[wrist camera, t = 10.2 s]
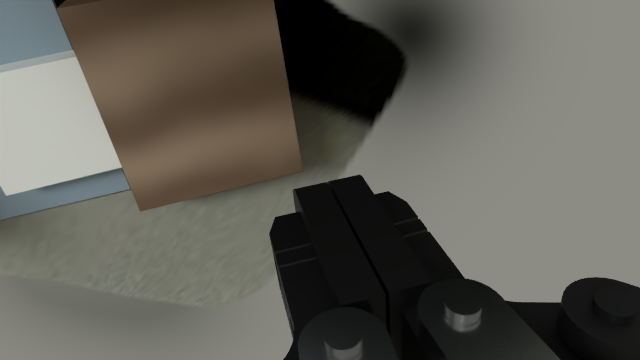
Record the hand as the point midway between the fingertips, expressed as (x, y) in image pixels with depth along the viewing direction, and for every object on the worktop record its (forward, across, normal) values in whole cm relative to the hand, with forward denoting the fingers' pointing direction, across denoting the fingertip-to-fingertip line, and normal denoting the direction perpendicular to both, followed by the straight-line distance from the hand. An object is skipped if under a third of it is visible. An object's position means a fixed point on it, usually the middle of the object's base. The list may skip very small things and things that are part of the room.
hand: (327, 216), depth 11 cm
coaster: (+25, +14, +5) cm, 29 cm away
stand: (+26, +3, +5) cm, 26 cm away
